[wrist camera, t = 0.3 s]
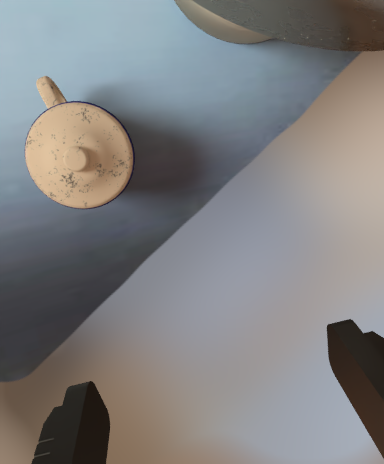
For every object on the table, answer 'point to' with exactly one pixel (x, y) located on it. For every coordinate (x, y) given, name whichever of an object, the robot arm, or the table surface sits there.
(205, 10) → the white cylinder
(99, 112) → the teacup with lid
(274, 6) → the cooker lid
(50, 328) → the table surface
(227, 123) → the table surface
